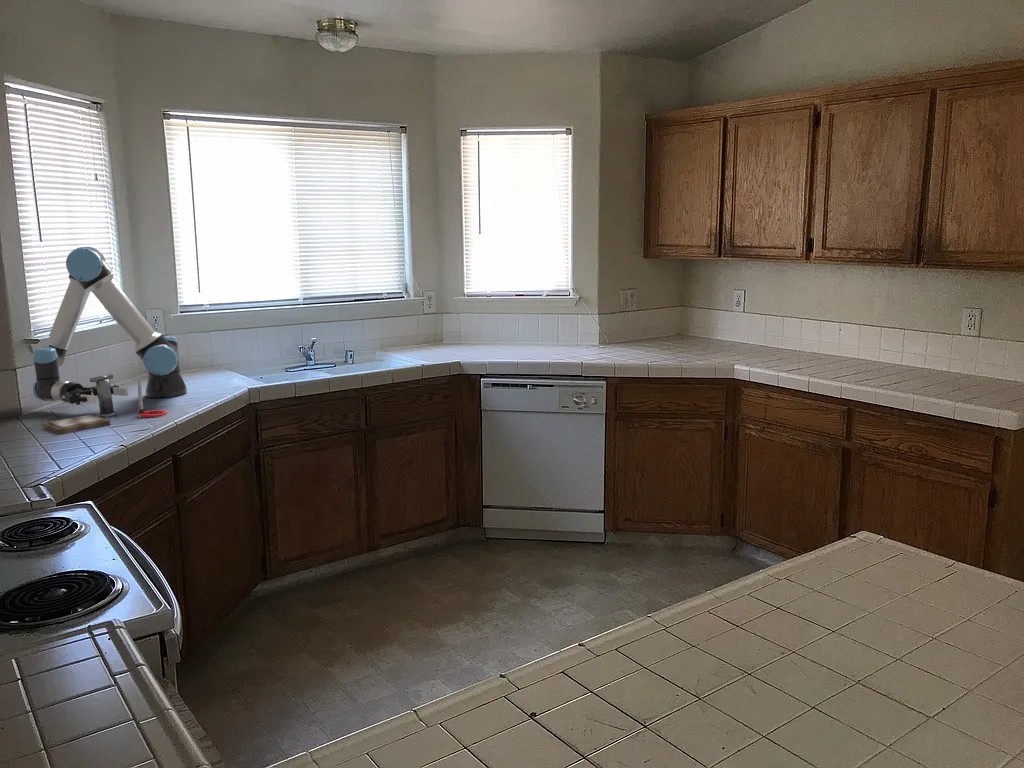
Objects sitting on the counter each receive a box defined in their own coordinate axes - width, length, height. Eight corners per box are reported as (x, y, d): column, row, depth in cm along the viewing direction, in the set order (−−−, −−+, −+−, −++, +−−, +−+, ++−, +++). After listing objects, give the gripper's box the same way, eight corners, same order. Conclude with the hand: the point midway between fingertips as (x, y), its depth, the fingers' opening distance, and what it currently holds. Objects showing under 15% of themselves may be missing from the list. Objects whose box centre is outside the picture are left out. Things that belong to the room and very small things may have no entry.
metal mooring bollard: (113, 412, 298) (107, 373, 294) (121, 414, 294) (116, 375, 290) (91, 416, 292) (85, 377, 289) (99, 419, 288) (93, 379, 285)
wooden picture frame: (93, 418, 289) (93, 413, 288) (109, 424, 279) (109, 419, 279) (44, 427, 277) (43, 421, 277) (59, 434, 268) (58, 428, 268)
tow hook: (168, 412, 298) (140, 414, 295) (166, 377, 296) (138, 378, 293) (166, 417, 290) (137, 419, 288) (164, 381, 288) (135, 382, 285)
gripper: (98, 395, 311) (140, 399, 302) (38, 409, 288) (82, 413, 280) (96, 376, 309) (138, 379, 301) (35, 388, 287) (79, 392, 278)
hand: (111, 395), depth 290 cm, fingers open, 13 cm apart
